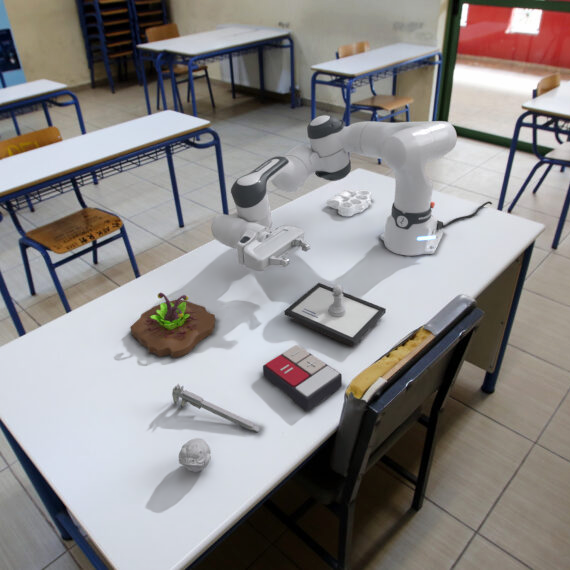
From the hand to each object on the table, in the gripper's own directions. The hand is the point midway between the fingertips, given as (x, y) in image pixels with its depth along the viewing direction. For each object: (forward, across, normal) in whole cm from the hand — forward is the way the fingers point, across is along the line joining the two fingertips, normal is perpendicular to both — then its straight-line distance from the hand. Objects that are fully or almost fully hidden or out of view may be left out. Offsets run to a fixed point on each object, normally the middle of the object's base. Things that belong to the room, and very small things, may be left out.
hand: (298, 255), depth 133 cm
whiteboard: (+13, +2, -15) cm, 20 cm away
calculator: (+19, +25, -15) cm, 35 cm away
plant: (-19, +30, -15) cm, 38 cm away
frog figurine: (+16, +56, -15) cm, 60 cm away
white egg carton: (-19, -60, -15) cm, 65 cm away
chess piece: (+14, +2, -12) cm, 18 cm away
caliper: (+10, +44, -15) cm, 48 cm away
